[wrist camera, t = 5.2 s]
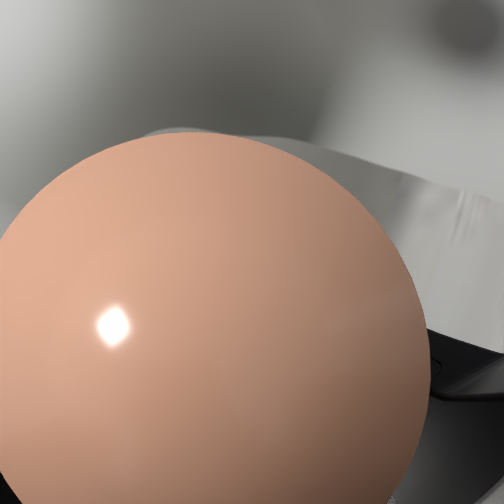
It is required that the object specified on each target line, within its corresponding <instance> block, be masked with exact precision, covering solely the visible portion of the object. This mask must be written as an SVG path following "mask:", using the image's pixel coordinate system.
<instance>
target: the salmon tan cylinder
mask: <svg viewBox="0 0 504 504" xmlns="http://www.w3.org/2000/svg"><path fill="white" fill-rule="evenodd" d="M430 380H431V372H430V347H429V340H428V334H427V329H426V323H425V318H424V313H423V309H422V306H421V303H420V300H419V297H418V294H417V292H416V289H415V286H414V283H413V280H412V278H411V276H410V274H409V272H408V270H407V268H406V266H405V264H404V262H403V260H402V258H401V256H400V254H399V252H398V251H397V249H396V247H395V246H394V244H393V243H392V241H391V240H390V238H389V237H388V236H387V234H386V233H385V231H384V230H383V229H382V227H381V226H380V224H379V223H378V222H377V220H376V219H375V218H374V217H373V216H372V215H371V214H370V213H369V212H368V211H367V210H366V208H365V207H364V206H363V205H362V204H361V203H360V202H359V201H358V200H357V199H356V198H355V197H354V196H353V195H352V194H350V193H349V192H348V191H347V190H346V189H344V188H343V187H342V186H341V185H340V184H338V183H337V182H336V181H335V180H333V179H332V178H331V177H329V176H328V175H326V174H325V173H323V172H322V171H320V170H318V169H317V168H315V167H314V166H312V165H310V164H309V163H307V162H305V161H304V160H302V159H300V158H297V157H295V156H293V155H291V154H289V153H287V152H284V151H282V150H280V149H278V148H275V147H272V146H269V145H266V144H263V143H259V142H256V141H253V140H250V139H246V138H240V137H235V136H229V135H223V134H215V133H197V132H185V133H171V134H160V135H155V136H150V137H145V138H140V139H135V140H132V141H129V142H125V143H123V144H119V145H116V146H113V147H110V148H108V149H106V150H103V151H101V152H99V153H97V154H95V155H93V156H90V157H88V158H86V159H84V160H83V161H81V162H79V163H78V164H76V165H75V166H73V167H71V168H70V169H68V170H66V171H65V172H63V173H62V174H61V175H59V176H58V177H57V178H56V179H54V180H53V181H52V182H51V183H49V184H48V185H47V186H46V187H44V188H43V189H42V190H41V191H40V192H39V193H38V194H37V195H36V196H35V197H34V198H33V199H32V200H31V201H30V202H29V203H28V204H27V205H26V206H25V207H24V208H23V210H22V211H21V212H20V213H19V215H18V216H17V217H16V218H15V220H14V221H13V222H12V224H11V225H10V226H9V227H8V229H7V231H6V232H5V234H4V236H3V237H2V239H1V240H0V472H1V473H2V475H3V477H4V478H5V480H6V482H7V483H8V485H9V486H10V487H11V489H12V490H13V492H14V493H15V494H16V496H17V497H18V498H19V500H20V501H21V502H22V504H386V503H387V502H388V500H389V499H390V498H391V496H392V495H393V493H394V492H395V490H396V488H397V487H398V485H399V484H400V482H401V481H402V479H403V477H404V475H405V473H406V471H407V469H408V467H409V465H410V462H411V460H412V458H413V456H414V453H415V451H416V449H417V446H418V443H419V440H420V436H421V433H422V429H423V426H424V422H425V418H426V414H427V407H428V399H429V390H430Z"/></svg>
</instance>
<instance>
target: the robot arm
mask: <svg viewBox="0 0 504 504" xmlns="http://www.w3.org/2000/svg"><path fill="white" fill-rule="evenodd" d="M426 329H427V328H426ZM427 334H428V340H429V347H430V372H431V380H430V390H429V399H428V407H427V414H426V418H425V422H424V426H423V429H422V433H421V436H420V440H419V443H418V446H417V449H416V451H415V453H414V456H413V458H412V460H411V462H410V465H409V467H408V469H407V471H406V473H405V475H404V477H403V479H402V481H401V482H400V484H399V485H398V487H397V488H396V490H395V492H394V493H393V497H394V499H395V501H396V503H397V504H504V353H498V352H494V351H491V350H488V349H485V348H482V347H479V346H476V345H472V344H469V343H466V342H463V341H460V340H457V339H454V338H451V337H448V336H446V335H443V334H440V333H437V332H435V331H432V330H430V329H427ZM0 504H22V502H21V501H20V500H19V498H18V497H17V496H16V494H15V493H14V492H13V490H12V489H11V487H10V486H9V485H8V483H7V482H6V480H5V478H4V477H3V475H2V473H1V472H0Z"/></svg>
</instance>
